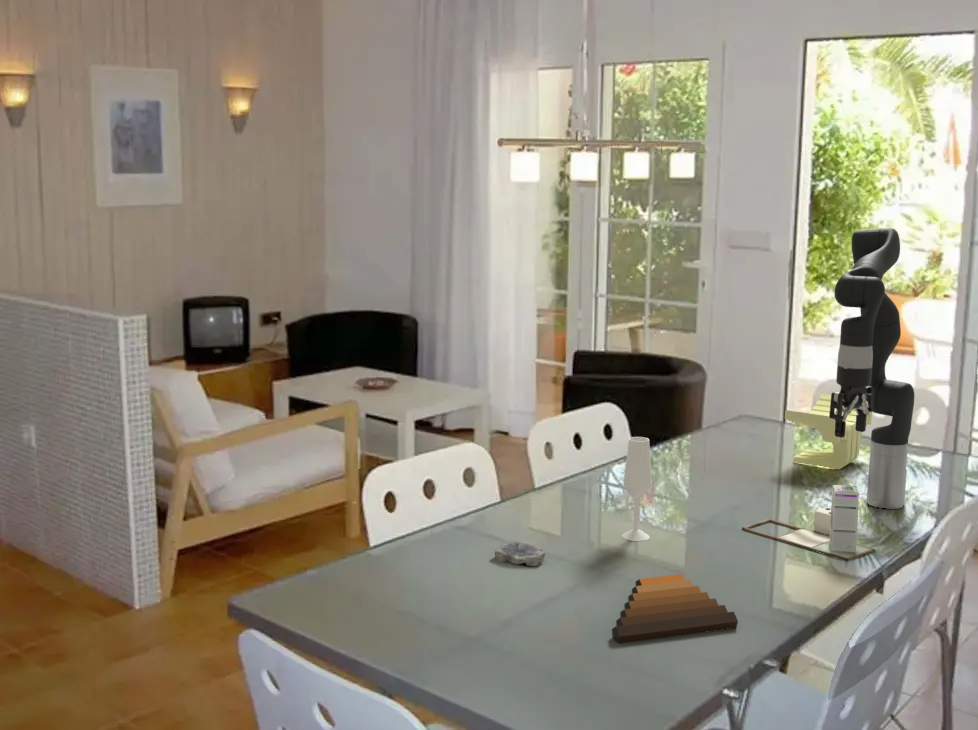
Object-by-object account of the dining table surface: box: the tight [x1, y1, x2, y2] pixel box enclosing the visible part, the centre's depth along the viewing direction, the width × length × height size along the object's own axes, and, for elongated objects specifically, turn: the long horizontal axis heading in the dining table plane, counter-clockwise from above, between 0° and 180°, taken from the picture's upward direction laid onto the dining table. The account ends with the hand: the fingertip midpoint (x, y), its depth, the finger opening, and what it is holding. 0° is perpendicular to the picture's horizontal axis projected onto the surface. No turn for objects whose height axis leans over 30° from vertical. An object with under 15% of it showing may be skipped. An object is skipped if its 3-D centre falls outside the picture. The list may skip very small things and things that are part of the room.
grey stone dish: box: [494, 541, 546, 567], centre depth 262 cm, size 11×4×10 cm
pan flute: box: [611, 573, 739, 644], centre depth 232 cm, size 25×3×25 cm
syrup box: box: [829, 484, 860, 553], centre depth 268 cm, size 6×6×14 cm
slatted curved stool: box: [784, 393, 873, 471], centre depth 346 cm, size 30×16×18 cm, turn 144°
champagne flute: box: [621, 436, 653, 542], centre depth 276 cm, size 7×7×24 cm
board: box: [741, 518, 876, 562], centre depth 277 cm, size 11×29×1 cm, turn 41°
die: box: [813, 506, 831, 536], centre depth 283 cm, size 5×5×5 cm
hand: (850, 434), depth 265 cm, fingers open, 8 cm apart
